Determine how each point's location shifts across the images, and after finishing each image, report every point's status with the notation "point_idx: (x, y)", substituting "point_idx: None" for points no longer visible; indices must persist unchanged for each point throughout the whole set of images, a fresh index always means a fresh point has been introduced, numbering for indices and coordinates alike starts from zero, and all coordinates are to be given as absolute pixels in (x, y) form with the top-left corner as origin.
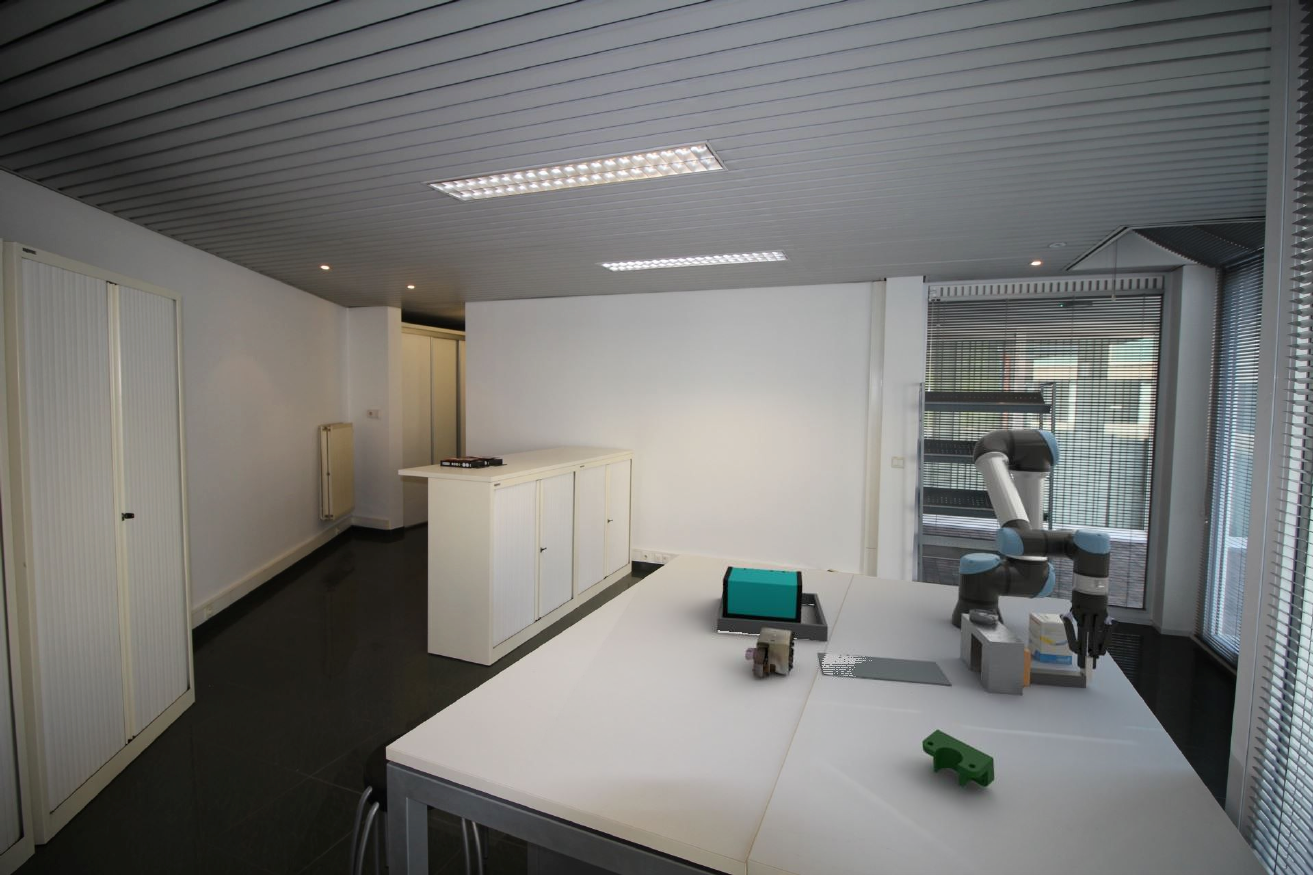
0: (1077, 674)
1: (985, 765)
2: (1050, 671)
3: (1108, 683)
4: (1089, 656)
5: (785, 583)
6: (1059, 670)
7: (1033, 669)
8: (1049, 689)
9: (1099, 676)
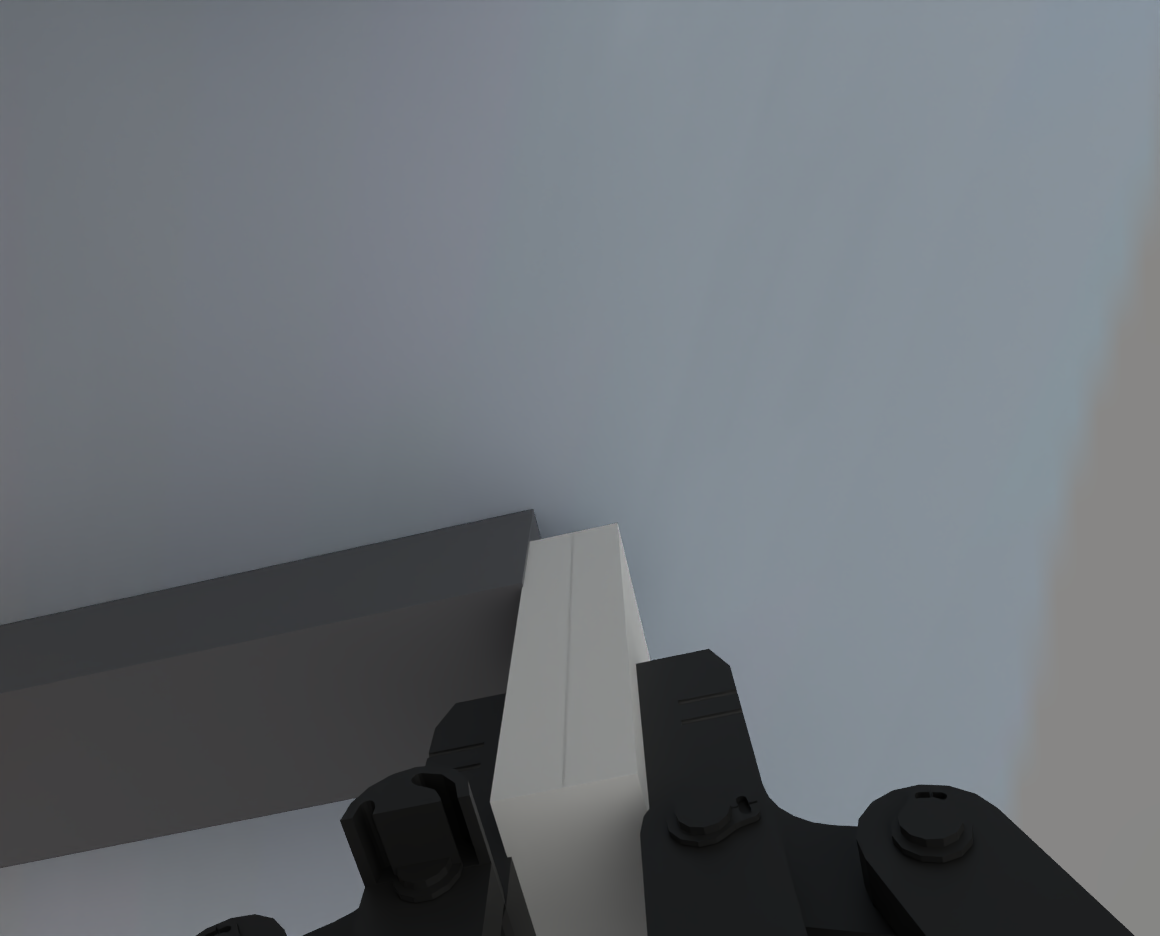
0: None
1: None
2: (63, 764)
3: (951, 354)
4: (643, 911)
5: None
6: (199, 667)
7: None
8: (129, 866)
9: (925, 87)
